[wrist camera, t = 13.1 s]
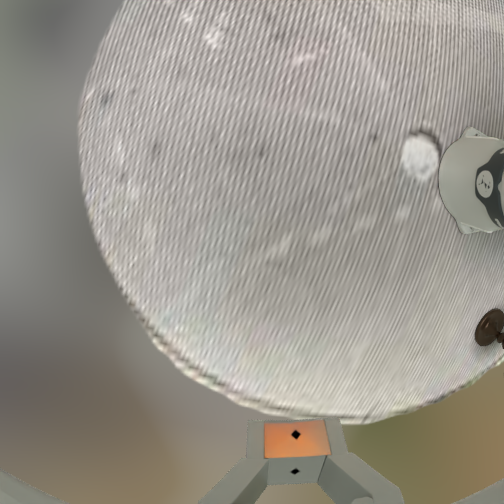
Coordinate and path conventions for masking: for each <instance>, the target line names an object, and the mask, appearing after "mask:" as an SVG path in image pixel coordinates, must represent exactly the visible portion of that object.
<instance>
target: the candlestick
mask: <svg viewBox="0 0 504 504" xmlns="http://www.w3.org/2000/svg"><path fill="white" fill-rule="evenodd" d="M503 326H504V313H503V312H502V311H501V310H500V309H492V310H490V311H489V312H488V313H486V314H485V315H484V316H483V318H482V319H481V320H480V322H479V324H478V326H477V328H476V331H475V340H476V342H477V343H478V344H479V345H480V346H487V345H489V344H491V343H492V342H493V341H494V340H495V339H496V338H497V342H498V343H502V347H503V349H504V333H501V331H502V329H503Z"/></svg>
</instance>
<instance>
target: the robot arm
mask: <svg viewBox="0 0 504 504" xmlns="http://www.w3.org/2000/svg"><path fill="white" fill-rule="evenodd" d="M475 135H476V136H475ZM439 190H440V194H441V198H442V200H443V203H444V205H445V207H446V208H447V210H448V211H449V212H450V214H451V215H452V216H453V217H454V218H455V220H456V222H457V225H458V228H459V230H460V232H461V233H462V234H471V233H476V232H480V231H484V232H487V233H492V232H493V231H498V230H501V229H504V140H502V139H498V138H495V137H489V136H487V135H485V134H484V133H482V132H480V131H478V130H477V129H475V128H473V127H467V128H466V129H465V131H464V132H463V134H462V136H461V138H460V139H459V140H457V141H456V142H454V143H453V144H452V145H451V146H450V147H449V148H448V149H447V150H446V152H445V154H444V156H443V158H442V160H441V164H440V168H439ZM299 483H300V484H301V483H318V485H319V486H320V487H321V488H322V489H323V490H324V492H325V493H326V494H327V495H328V496H329V497H330V498H331V499H332V500H333V501H334V502H335V503H336V504H404V500H403V497H402V494H401V491H400V488H398V487H397V486H395V485H394V484H393V483H391V482H390V481H389V480H387V479H386V478H384V477H383V476H382V475H381V474H379V473H378V472H377V471H375V470H374V469H373V468H372V467H370V466H369V465H368V464H366V463H365V462H364V461H362V460H361V459H360V458H358V457H357V456H356V455H355V454H354V453H348V450H347V446H346V442H345V438H344V434H343V430H342V427H341V423H340V419H339V418H338V417H332V418H317V419H302V420H289V421H287V420H286V421H285V420H284V421H283V420H282V421H281V420H248V427H247V448H246V458H241V459H240V460H239V461H238V462H237V464H235V466H234V467H233V468H232V469H231V470H230V471H229V472H228V473H227V474H226V475H225V476H224V477H223V478H222V479H221V480H220V481H219V482H218V483H217V484H216V485H215V486H214V487H213V488H212V489H211V490H210V491H209V492H208V493H207V494H206V495H205V496H204V497H203V498H202V499H201V500H200V501H199V502H198V504H254V503H255V502H256V500H257V499H258V498H259V497H260V495H261V494H262V493H263V491H264V490H265V488H266V487H267V485H281V484H299ZM0 504H70V503H67V502H65V501H62V500H60V499H58V498H55V497H54V496H51V495H49V494H47V493H45V492H43V491H41V490H39V489H37V488H35V487H33V486H31V485H29V484H27V483H25V482H23V481H22V480H20V479H18V478H16V477H14V476H12V475H11V474H9V473H8V472H6V471H4V470H3V469H1V468H0ZM452 504H504V478H503V479H501V480H500V481H498V482H496V483H494V484H493V485H491V486H489V487H487V488H485V489H483V490H481V491H479V492H477V493H475V494H472V495H471V496H468V497H466V498H464V499H462V500H459V501H457V502H455V503H452Z"/></svg>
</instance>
